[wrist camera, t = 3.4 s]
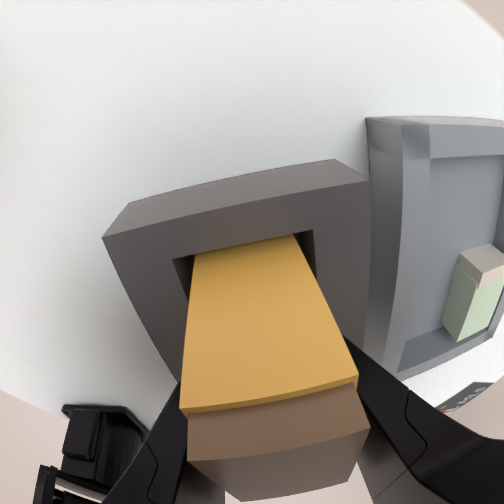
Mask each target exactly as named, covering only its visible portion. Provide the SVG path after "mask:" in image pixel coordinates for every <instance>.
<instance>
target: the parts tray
mask: <svg viewBox="0 0 504 504" xmlns="http://www.w3.org/2000/svg"><path fill="white" fill-rule="evenodd" d="M366 126H367V137H368V150H369V165H370V182H371V256H370V277H369V292H368V305H367V316H366V325H365V334H364V342H363V350H362V351H363V352H364V353H366V354H367V355H368V356H369V357H371V358H372V359H373V360H374V361H376V362H377V363H378V364H379V365H381V366H382V367H383V368H384V369H385V370H387V371H388V372H389V373H390V374H392V375H393V376H394V377H395V378H397V379H398V380H399V381H400V382H401V381H403V380H406V379H408V378H411V377H413V376H415V375H418V374H420V373H423V372H425V371H427V370H429V369H432V368H434V367H436V366H438V365H440V364H443V363H445V362H447V361H449V360H451V359H453V358H455V357H457V356H459V355H461V354H463V353H465V352H467V351H469V350H470V349H472V348H474V347H476V346H478V345H480V344H481V343H483V342H485V341H487V340H488V339H490V338H492V337H493V335H494V333H495V330H496V328H497V326H498V324H499V322H500V319H501V317H502V315H503V312H504V286H503V288H502V291H501V294H500V297H499V300H498V302H497V305H496V307H495V310H494V312H493V315H492V317H491V320H490V322H489V324H488V326H487V327H485V328H484V329H482V330H480V331H478V332H476V333H474V334H472V335H470V336H468V337H466V338H464V339H462V340H460V341H458V342H456V341H455V340H454V338H453V337H452V336H451V334H450V333H449V332H448V330H447V329H446V328H445V326H444V325H443V324H442V323H441V319H442V316H443V313H444V309H445V306H446V303H447V299H448V295H449V292H450V288H451V284H452V280H453V275H454V271H455V267H456V264H457V263H458V258H459V253H460V252H464V251H467V250H470V249H473V248H476V247H479V246H482V245H485V244H488V243H490V244H492V245H493V246H494V247H495V248H497V249H498V250H499V251H500V252H502V253H503V254H504V121H501V120H492V119H481V118H468V117H448V116H391V117H370V118H366Z"/></svg>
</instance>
